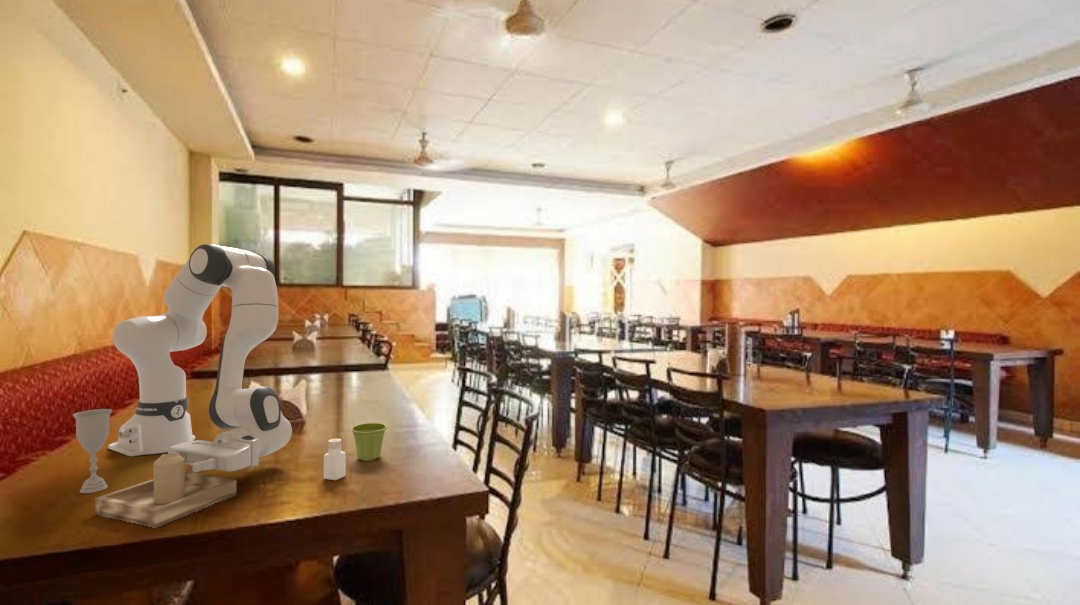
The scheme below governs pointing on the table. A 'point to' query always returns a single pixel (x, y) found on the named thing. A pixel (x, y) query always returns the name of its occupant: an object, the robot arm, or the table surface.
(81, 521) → the table surface
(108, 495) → the tray
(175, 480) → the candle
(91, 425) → the chalice
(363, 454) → the plant pot
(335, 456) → the salt shaker
